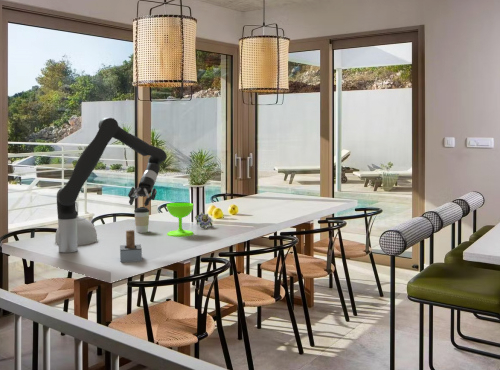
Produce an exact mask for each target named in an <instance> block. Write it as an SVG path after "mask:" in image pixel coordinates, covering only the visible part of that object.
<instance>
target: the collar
mask: <svg viewBox="0 0 500 370" xmlns="http://www.w3.org/2000/svg"><path fill="white" fill-rule="evenodd" d="M119 253H120V254H119V257H120V260H119V261H120V262H121V263H129V262H142V261H143V254H142V253H143V250H142V245H141V244H135V248H126V244H123V245H121V244H120V245H119Z"/></svg>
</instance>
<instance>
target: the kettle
mask: <svg viewBox="0 0 500 370" xmlns="http://www.w3.org/2000/svg"><path fill="white" fill-rule="evenodd" d="M75 204H76V213H77V243H78V246H80V245H88V244H93V243H96V242H97V241H98V233H97V229H96V228H95V227H96V226H95V225H93V223H92V222H91V221H90V220H89V219H87V218H85V217H84V216H79V208H78V207H79V205H78V202H77V200H76V201H75ZM58 234H59V232H58V228H57V229H56V232H55V235H54V236H55V244H56V243H57V245H58Z"/></svg>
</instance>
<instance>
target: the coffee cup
mask: <svg viewBox="0 0 500 370" xmlns="http://www.w3.org/2000/svg"><path fill="white" fill-rule="evenodd" d="M133 213H134V222H135V231H136V233H139V234H145V233H148V232H149V221H150V210H149V209H148V207H146V206H140V207H136V208H135V209H134V212H133Z"/></svg>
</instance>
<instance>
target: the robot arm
mask: <svg viewBox="0 0 500 370" xmlns="http://www.w3.org/2000/svg"><path fill="white" fill-rule="evenodd" d="M112 138H114V139H115V140H118V141H119V142H121V143H122V144H124V145H125V146H127V147H129V149H131V150H132V151H134V152H136V153H138V154H139V155H141V156H143V157H147V156H149V157H148V160H147V166H146V168H145V171H144V172H143V173H142V176H141V178H140V181H139V183H138V186H137V187H134V186H133V187H131V188H130V190H129V192H128V194H127V196H128V198H129V200H128V204H129V206H133V204H134V202H135V199H138V198H140V197H143V198H144V197H145V198H146V199H145V201H144V207H148V205H149V203H150V202H151V201H154V200H156V196H157V189H156V187H155V184H156V182H157V179H158V175H159V173H160V165H161V164H162V163H164V161H166V160H167V157H168V155H167V153H166V151H165V150H164V149H162V148H160V147H157V146H155V145H152V144H149V143H148V142H146V141H144V140H143V139H142V138H139V137H137V136H136V135H134V134H132V133H129V132H128V131H127V130H125V129H123V128H122V127H121V126H119V122H118V121H117V120H116V119H115V118H113V117H103V118H102V119H101V120H99V122H98V130H97V132H96V135H95V137H94V138H93V140H91V142H90V143H88V145H87V146H86V147H85V149H84V150H83V151H82V152H81V155H80V156H79V158H78V159H77V161H76V163H75V164H74V165H75V166H74V168H73V170H72V174H71V175H70V178H69V179H68V181H67V182H66V184H64V187H61V188H59V190H58V191H57V192H56V208H57V209H56V211H57V212H56V213H57V225H58V227H57V229H58V232H59V234H58V244H57V245H58V253H64V254H65V253H74V252H77V251H79V250H78V248H79V245H78V243H77V213H76V203H75V201H76V202H77V199H78V197H79V196H80V195H79V194H80V192H81V190H82V188H83V186H84V185H85V183H86V182H87V180H88V179H89V178H90V176H91V175H92V172H94V170H95V168H96V167H97V165H98V163H99V161H100V159H101V158H102V156H103V154H104V151H105V149H106V148H107V146H108V144H109V143H110V141H111V140H112Z"/></svg>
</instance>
